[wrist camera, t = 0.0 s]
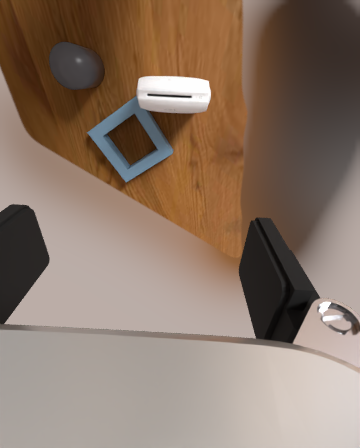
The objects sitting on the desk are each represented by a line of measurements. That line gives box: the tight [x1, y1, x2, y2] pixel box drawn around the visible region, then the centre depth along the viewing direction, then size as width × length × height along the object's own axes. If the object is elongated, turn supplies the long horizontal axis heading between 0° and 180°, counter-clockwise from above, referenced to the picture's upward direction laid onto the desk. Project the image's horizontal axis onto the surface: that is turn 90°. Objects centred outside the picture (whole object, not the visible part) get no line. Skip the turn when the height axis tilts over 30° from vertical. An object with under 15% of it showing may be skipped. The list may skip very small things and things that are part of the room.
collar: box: [87, 96, 173, 182], centre depth 43 cm, size 11×11×2 cm
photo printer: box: [137, 76, 211, 113], centre depth 34 cm, size 10×4×12 cm, turn 87°
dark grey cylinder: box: [49, 42, 104, 90], centre depth 35 cm, size 6×6×7 cm
